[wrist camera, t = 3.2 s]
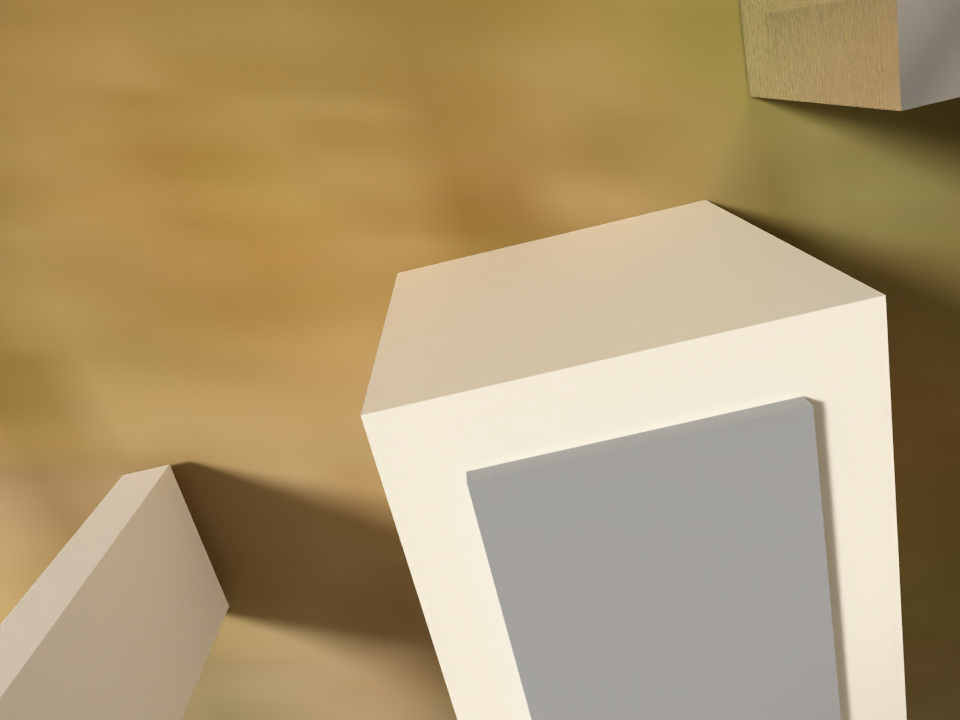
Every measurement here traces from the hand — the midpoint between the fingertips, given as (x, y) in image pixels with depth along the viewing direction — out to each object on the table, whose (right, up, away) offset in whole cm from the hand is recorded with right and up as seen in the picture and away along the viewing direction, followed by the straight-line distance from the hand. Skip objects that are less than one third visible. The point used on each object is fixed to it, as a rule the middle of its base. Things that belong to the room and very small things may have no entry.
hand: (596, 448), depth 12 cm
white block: (0, 0, 0) cm, 0 cm away
